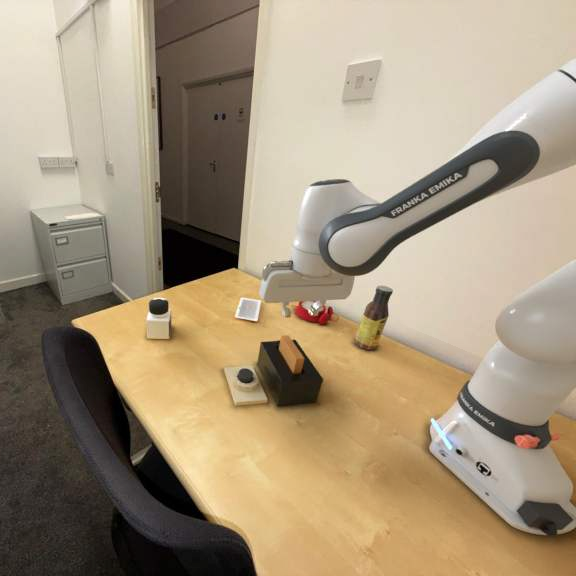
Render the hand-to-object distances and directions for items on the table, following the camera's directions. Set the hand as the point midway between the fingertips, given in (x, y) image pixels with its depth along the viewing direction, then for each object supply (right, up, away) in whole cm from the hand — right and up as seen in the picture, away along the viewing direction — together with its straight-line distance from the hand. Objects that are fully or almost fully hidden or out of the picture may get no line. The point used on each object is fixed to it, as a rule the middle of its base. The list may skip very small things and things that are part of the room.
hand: (299, 315), depth 69 cm
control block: (-11, -19, +8) cm, 24 cm away
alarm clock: (+20, -4, +39) cm, 44 cm away
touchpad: (-4, -2, +41) cm, 41 cm away
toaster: (0, -19, +10) cm, 21 cm away
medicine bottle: (-35, -8, +28) cm, 46 cm away
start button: (-11, -17, +7) cm, 21 cm away
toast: (0, -17, +9) cm, 19 cm away
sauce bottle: (+30, -12, +25) cm, 40 cm away
